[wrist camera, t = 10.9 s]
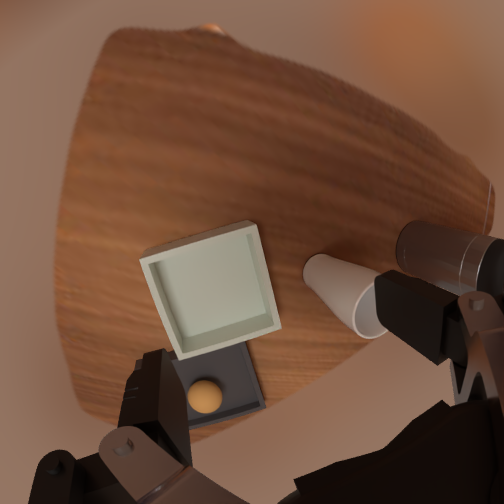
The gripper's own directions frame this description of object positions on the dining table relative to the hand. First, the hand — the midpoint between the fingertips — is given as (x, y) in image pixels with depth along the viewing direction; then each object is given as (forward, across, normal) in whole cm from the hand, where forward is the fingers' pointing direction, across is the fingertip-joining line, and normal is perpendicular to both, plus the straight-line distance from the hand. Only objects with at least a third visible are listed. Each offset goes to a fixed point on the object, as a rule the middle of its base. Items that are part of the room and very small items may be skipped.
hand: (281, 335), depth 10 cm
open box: (+28, +2, +7) cm, 29 cm away
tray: (+28, +8, +22) cm, 37 cm away
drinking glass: (+28, -13, +10) cm, 33 cm away
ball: (+27, +8, +22) cm, 36 cm away
